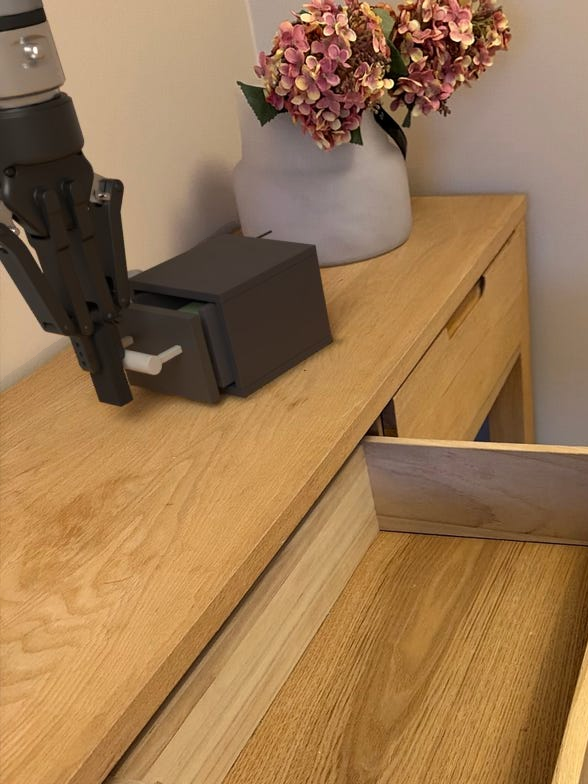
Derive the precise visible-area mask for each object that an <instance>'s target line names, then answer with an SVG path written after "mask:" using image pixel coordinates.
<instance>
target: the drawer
mask: <svg viewBox="0 0 588 784" xmlns="http://www.w3.org/2000/svg"><path fill="white" fill-rule="evenodd" d="M131 300H132V303H130V306H129V307H128V308H126V309H125V308H123V309H122V310H121V311H120V312H119V313H118V314H120V315H123V316H124V320H123V322H122V324H121V325H117V328H118V332H119V335H120V338H121V341H122V345H123V347H124V351H125V358H123V359H121V362H122V365H123V368H124V371H125V374H126V377H127V381H128V384H129V386H130V387H136V388H140V389H145V390H149V391H152V392H153V391H154V392H158V393H163V394H167V395H172V396H176V397H181V398H185V399H189V400H194V401H199V402H203V403H207V404H214V403H215V402H217V401H219V400H220V399H221V395H220V392H219V391H218V387H223V388H224V387H226V386H227V385H229V384H231V383H232V382H234V381H235V380H234V376H233V372H232V368H231V364H230V360H229V356H228V352H227V348H226V344H225V340H224V336H223V332H222V328H221V323H220V319H219V315H218V311H217V307H216V303H214V302H208V301H202V300H196V299H190V298H184V297H178V296H172V295H166V294H159V293H153V292H147V291H143V292H141V293H139V294H137V295H135V296H133V297H131ZM192 302H198V303H204V304H205V305H203V306H201V307H200V308H198V309H197V310H198V314H199V315H198V314H194V313H188V312H182V311H177V310H179V309H180V308H182V307H184V306H186V305H188V304H190V303H192ZM199 317H200V318H199ZM200 321H201V322H200ZM201 325H202V326H201ZM205 340H206V341H205ZM206 344H207V345H206ZM207 348H208V349H207ZM211 363H212V364H211ZM212 367H213V368H212ZM217 386H218V387H217Z"/></svg>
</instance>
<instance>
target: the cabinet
mask: <svg viewBox="0 0 588 784" xmlns="http://www.w3.org/2000/svg"><path fill="white" fill-rule="evenodd" d="M317 250H318V249H317V245H316V244H311V243H303V242H296V241H295V242H294V241H287V240H278V239H271V238H264V237H262V238H256V237H254V236H247V235H239V234H230V233H223V234H221V235H218V236H216V237H214V238H212V239H210V240H208V241H205V242H204V243H201V244H199V245H197V246H195V247H192V248H190V249H188V250H186V251H184V252H182V253H180V254H177V255H175V256H173V257H172V258H169V259H167V260H165V261H163V262H160V263H159V264H156V265H154V266H151V267H150V268H147V269H145V270H142V271H143V272H141V273H139V274H137V275H135V276H132V277H130V278H128V281H129V289H130V298H131V297H133V296H135V295H137V294H139V293H141V292H143V291H147V292H153V293H159V294H166V295H172V296H178V297H184V298H190V299H196V300H202V301H208V302H214V303H216V307H217V311H218V315H219V319H220V323H221V328H222V332H223V336H224V340H225V344H226V348H227V352H228V356H229V360H230V364H231V368H232V372H233V376H234V380H235V381H234V382H232V383H231V384H229V385H227V386H226V387H224V388H223V387H218V386H217V387H218V391H219V393H221V394H226V395H231V396H235V397H239V398H244V399H245V398H247V397H248V396H250V395H252V394H253V393H255V392H256V391H258V390H259V389H261V388H262V387H264V386H266V385H267V384H268V383H270V382H272V381H273V380H275V379H276V378H278V377H279V376H281V375H283V374H285V373H286V372H287V371H289V370H290V369H292V368H294V367H295V366H297V365H298V364H300V363H301V362H303V361H304V360H306V359H308V358H309V357H311V356H313V355H314V354H315V353H317V352H320V350H322V349H324V348H325V347H327V346H328V345H330V344H332V343H333V337H332V336H333V335H332V331H331V326H330V320H329V314H328V308H327V302H326V297H325V291H324V290H325V289H324V286H323V285H324V284H323V280H322V276H321V268H320V262H319V258H318V251H317ZM131 301H132V300H131Z"/></svg>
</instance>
